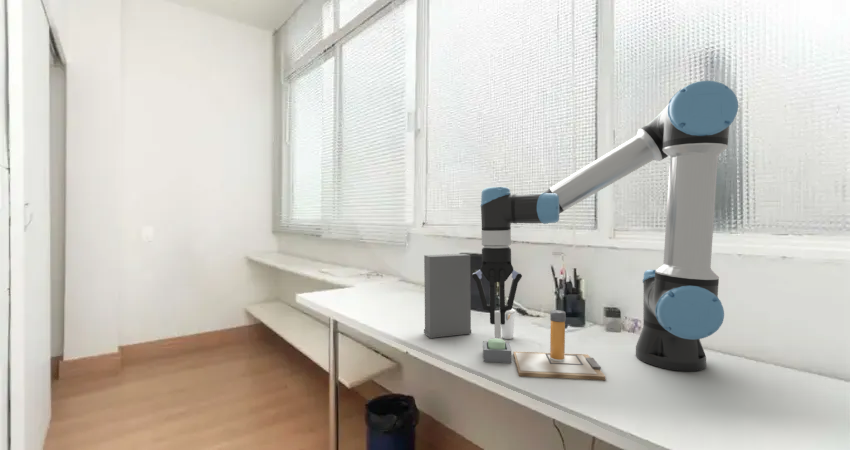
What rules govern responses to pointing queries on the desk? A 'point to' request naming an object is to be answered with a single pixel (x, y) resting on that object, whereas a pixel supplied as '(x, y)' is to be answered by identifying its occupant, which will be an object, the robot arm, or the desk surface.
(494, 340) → the button
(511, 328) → the milkshake
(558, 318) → the orange capped bottle
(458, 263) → the tall grey upright box
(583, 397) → the desk surface
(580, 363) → the clipboard
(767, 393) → the desk surface
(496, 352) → the button housing
